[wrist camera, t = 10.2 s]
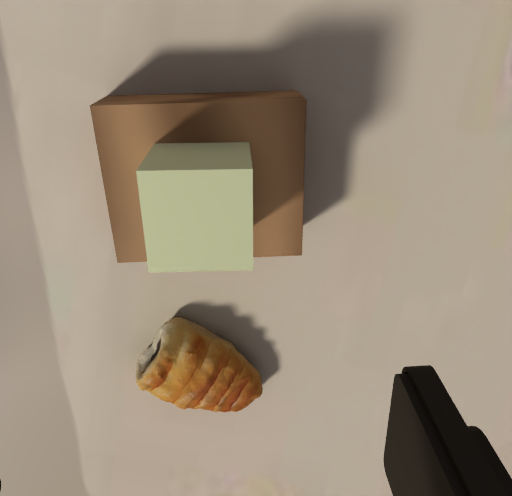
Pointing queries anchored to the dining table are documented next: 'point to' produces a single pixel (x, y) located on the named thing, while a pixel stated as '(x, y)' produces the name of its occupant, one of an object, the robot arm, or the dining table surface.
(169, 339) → the pastry
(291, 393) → the dining table surface
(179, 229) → the green cube
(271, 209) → the walnut block
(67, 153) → the dining table surface
